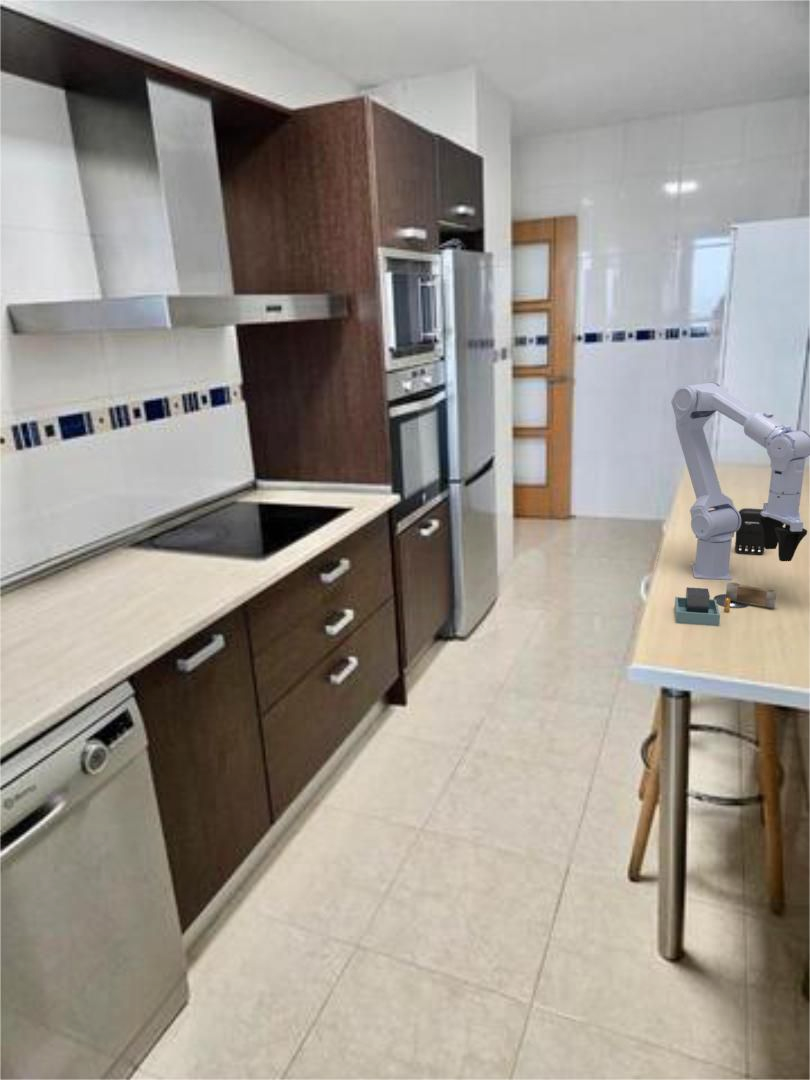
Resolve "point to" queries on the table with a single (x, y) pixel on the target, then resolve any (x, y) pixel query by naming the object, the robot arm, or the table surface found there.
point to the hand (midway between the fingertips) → (777, 554)
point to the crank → (751, 594)
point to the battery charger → (749, 533)
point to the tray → (696, 614)
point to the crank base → (729, 603)
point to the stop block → (697, 600)
